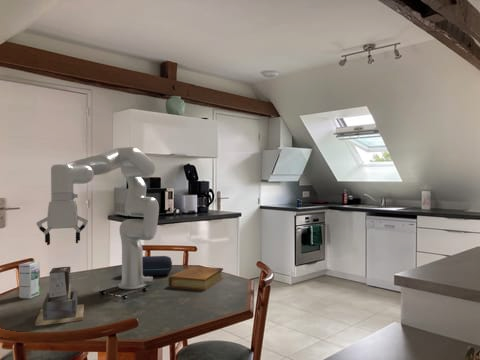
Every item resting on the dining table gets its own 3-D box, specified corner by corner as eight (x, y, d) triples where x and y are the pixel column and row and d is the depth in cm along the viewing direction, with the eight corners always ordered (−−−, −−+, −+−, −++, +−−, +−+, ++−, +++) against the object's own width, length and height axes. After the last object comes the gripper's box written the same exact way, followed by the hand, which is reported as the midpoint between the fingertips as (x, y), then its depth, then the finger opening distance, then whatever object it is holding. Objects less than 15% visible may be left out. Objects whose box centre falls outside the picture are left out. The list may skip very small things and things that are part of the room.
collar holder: (84, 307, 148) (83, 288, 149) (82, 320, 134) (82, 299, 135) (41, 312, 143) (41, 293, 143) (35, 326, 129) (35, 304, 129)
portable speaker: (172, 272, 206) (172, 254, 207) (171, 276, 197) (171, 257, 197) (125, 273, 204) (125, 255, 204) (122, 278, 194) (121, 259, 194)
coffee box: (68, 316, 135) (68, 271, 135) (49, 318, 133) (48, 272, 133) (70, 308, 144) (70, 266, 144) (52, 310, 141) (52, 267, 141)
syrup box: (30, 298, 160) (30, 264, 160) (18, 298, 161) (18, 264, 161) (40, 294, 166) (40, 261, 166) (28, 294, 167) (28, 261, 167)
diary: (189, 276, 198) (189, 265, 198) (223, 279, 193) (223, 268, 193) (168, 288, 176) (168, 275, 177) (205, 291, 171) (205, 278, 171)
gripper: (87, 196, 147) (88, 240, 147) (37, 197, 141) (38, 243, 141) (87, 197, 140) (87, 243, 140) (34, 198, 134) (35, 247, 134)
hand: (62, 243), depth 140 cm, fingers open, 9 cm apart
